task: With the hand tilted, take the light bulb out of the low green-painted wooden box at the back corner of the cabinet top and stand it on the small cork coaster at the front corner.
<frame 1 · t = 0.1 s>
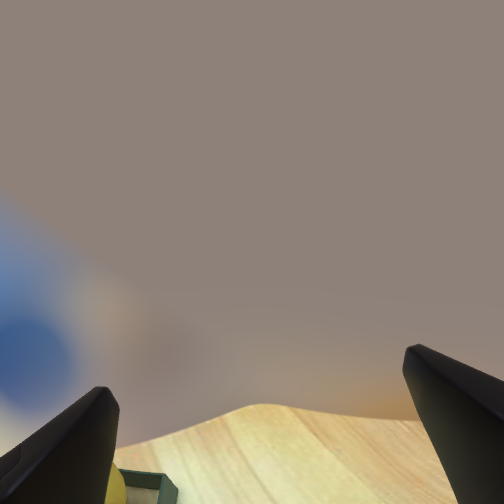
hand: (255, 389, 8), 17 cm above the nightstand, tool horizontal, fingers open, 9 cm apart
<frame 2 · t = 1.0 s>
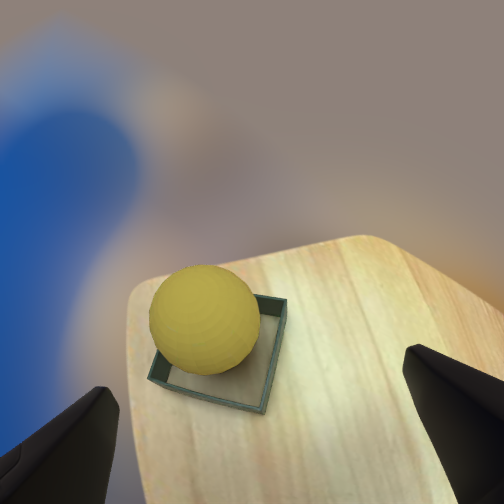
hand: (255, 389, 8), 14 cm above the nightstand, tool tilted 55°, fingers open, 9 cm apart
light bulb: (225, 353, 23), resting in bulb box
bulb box: (224, 353, 23), on the nightstand
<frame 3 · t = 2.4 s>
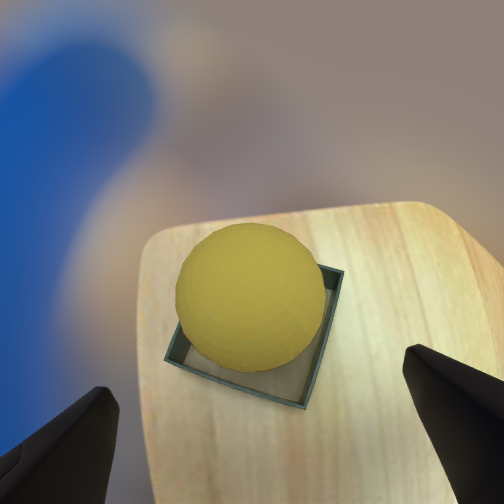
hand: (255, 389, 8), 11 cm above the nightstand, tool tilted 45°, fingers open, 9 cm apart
light bulb: (259, 328, 19), resting in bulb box
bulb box: (259, 328, 19), on the nightstand
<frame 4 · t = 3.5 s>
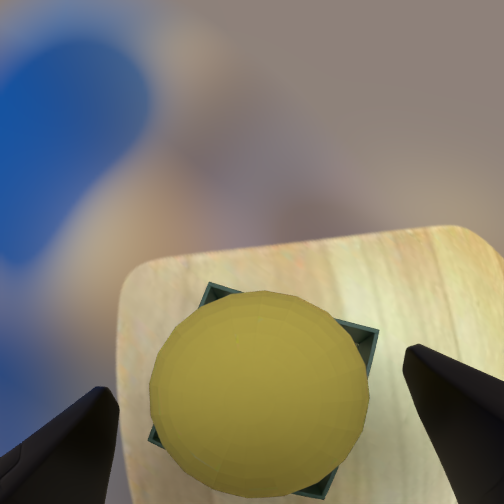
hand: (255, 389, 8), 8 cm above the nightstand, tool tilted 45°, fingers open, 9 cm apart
light bulb: (267, 393, 15), resting in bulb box
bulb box: (266, 393, 14), on the nightstand
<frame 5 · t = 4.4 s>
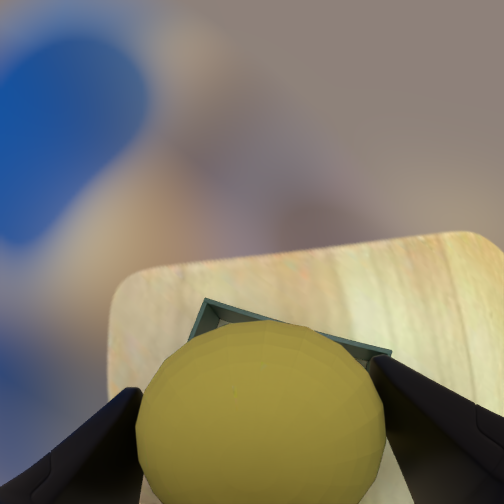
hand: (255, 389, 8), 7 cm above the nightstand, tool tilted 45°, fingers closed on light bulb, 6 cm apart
light bulb: (268, 415, 13), resting in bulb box, touching gripper
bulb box: (268, 416, 13), on the nightstand
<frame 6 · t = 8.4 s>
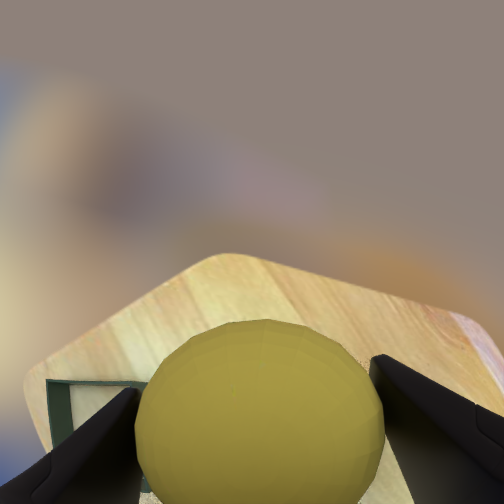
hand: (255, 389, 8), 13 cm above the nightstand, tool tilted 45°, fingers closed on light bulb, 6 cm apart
light bulb: (268, 414, 13), point 7 cm above the nightstand, touching gripper
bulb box: (109, 432, 18), on the nightstand
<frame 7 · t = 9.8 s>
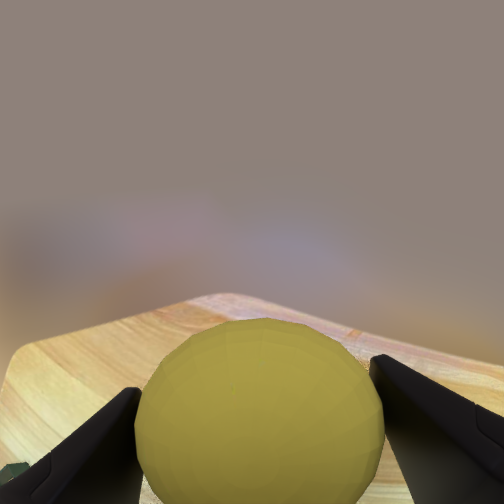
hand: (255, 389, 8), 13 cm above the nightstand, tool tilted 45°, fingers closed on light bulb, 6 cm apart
light bulb: (268, 414, 13), point 7 cm above the nightstand, touching gripper
when the fingers open (7 cm above the nightstand, at t = 15.0 s): light bulb stays where it is, resting on coaster.
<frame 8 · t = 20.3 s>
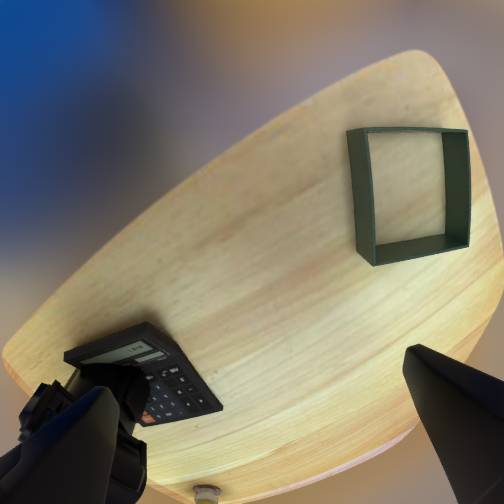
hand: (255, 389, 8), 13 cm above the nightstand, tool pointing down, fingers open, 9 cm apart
light bulb: (206, 489, 31), resting on coaster
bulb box: (404, 187, 19), on the nightstand
coaster: (207, 490, 31), on the nightstand
calculator: (148, 373, 24), on the nightstand
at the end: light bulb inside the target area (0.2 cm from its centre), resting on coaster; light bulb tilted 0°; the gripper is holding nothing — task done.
